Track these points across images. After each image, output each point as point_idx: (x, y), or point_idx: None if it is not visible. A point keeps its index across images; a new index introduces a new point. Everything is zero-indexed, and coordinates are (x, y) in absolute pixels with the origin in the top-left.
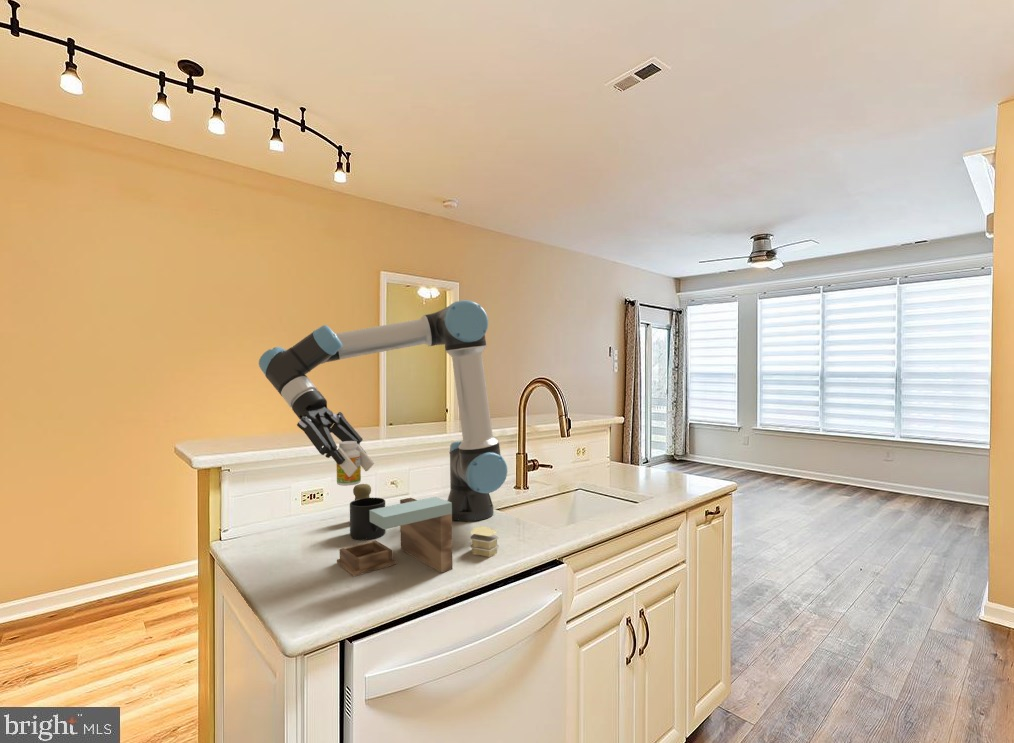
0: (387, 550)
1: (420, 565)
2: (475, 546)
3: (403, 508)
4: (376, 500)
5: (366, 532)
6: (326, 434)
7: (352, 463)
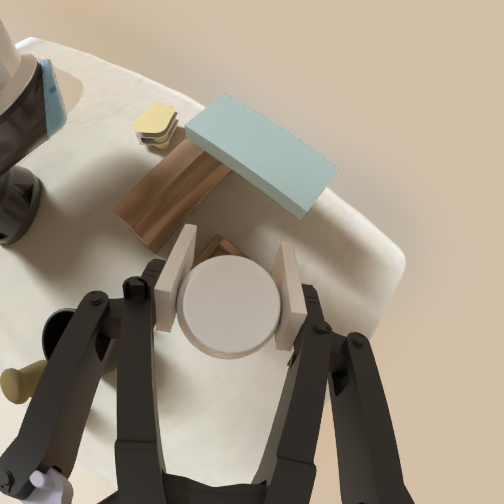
0: (221, 241)
1: (215, 199)
2: (167, 136)
3: (280, 153)
4: (46, 338)
5: None
6: (321, 405)
7: (289, 254)
